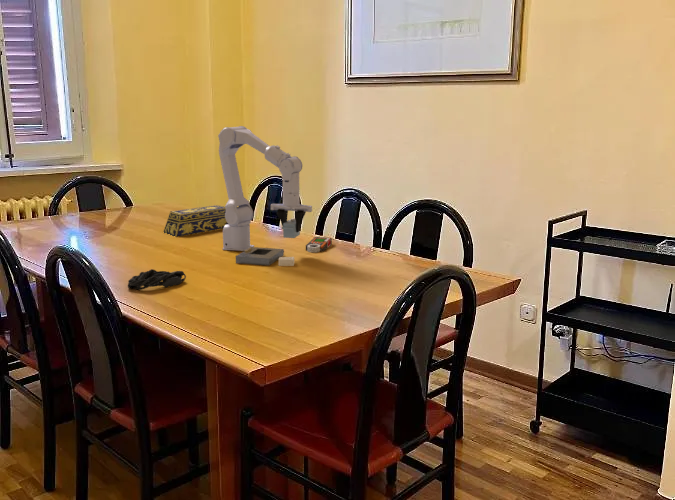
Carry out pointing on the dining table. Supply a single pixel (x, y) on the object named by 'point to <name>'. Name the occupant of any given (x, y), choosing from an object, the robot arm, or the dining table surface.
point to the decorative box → (195, 220)
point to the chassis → (259, 256)
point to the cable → (156, 279)
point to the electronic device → (318, 244)
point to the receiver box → (286, 261)
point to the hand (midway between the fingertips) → (291, 231)
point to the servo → (290, 229)
